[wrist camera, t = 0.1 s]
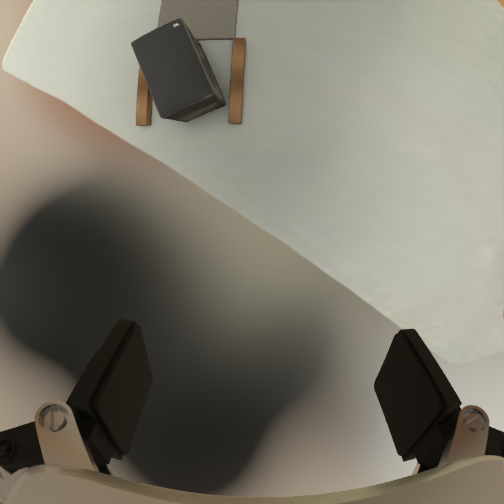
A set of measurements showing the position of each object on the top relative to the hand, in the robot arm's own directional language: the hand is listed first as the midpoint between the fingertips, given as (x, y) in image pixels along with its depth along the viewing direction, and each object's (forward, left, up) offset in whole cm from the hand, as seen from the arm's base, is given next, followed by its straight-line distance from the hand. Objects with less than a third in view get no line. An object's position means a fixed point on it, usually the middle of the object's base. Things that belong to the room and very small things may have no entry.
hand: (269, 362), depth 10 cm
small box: (-15, -10, -32) cm, 37 cm away
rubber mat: (-28, -10, -31) cm, 43 cm away
